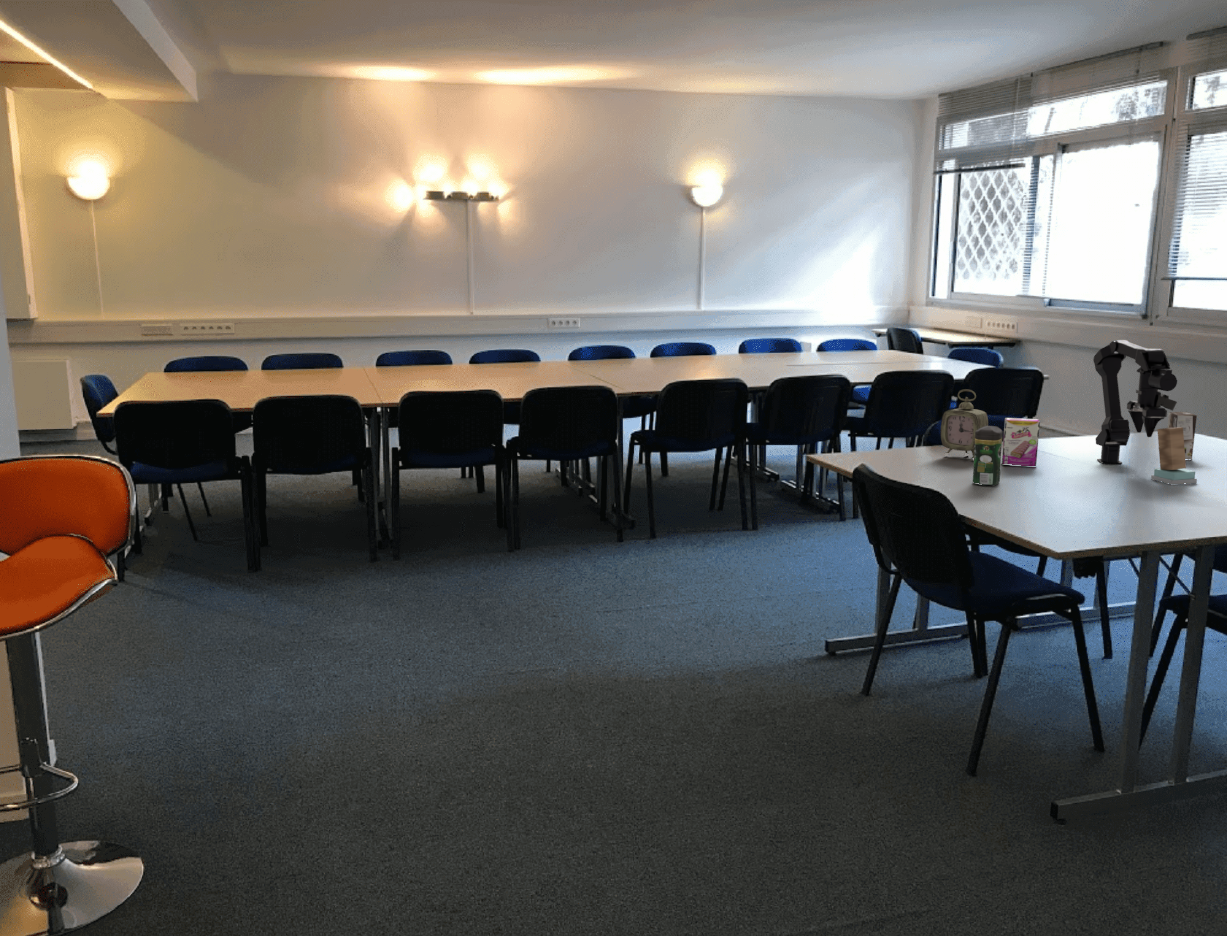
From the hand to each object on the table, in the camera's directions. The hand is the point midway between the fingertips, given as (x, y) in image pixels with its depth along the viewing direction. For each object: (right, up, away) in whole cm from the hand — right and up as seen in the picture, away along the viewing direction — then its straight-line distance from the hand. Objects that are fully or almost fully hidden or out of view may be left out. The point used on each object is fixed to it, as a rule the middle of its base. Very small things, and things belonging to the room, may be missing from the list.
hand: (1144, 434), depth 321 cm
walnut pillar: (+3, -11, -11) cm, 16 cm away
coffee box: (+26, -8, +26) cm, 38 cm away
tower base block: (+4, -16, -10) cm, 19 cm away
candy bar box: (-34, -10, +18) cm, 40 cm away
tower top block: (+4, -14, -10) cm, 18 cm away
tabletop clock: (-47, -7, +33) cm, 58 cm away
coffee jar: (-55, -16, -8) cm, 58 cm away
